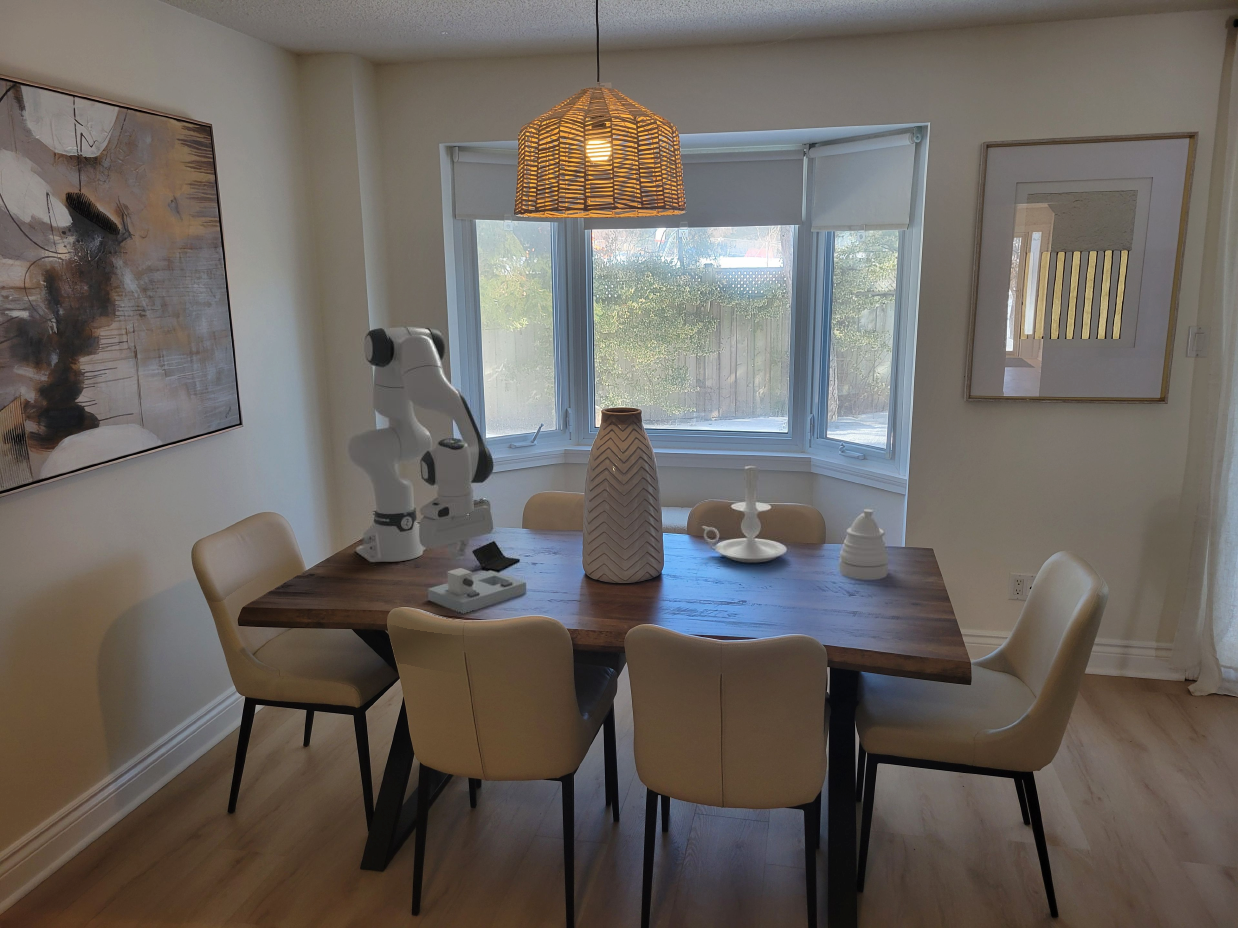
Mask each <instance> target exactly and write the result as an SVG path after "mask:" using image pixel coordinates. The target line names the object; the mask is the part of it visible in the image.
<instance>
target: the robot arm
mask: <svg viewBox="0 0 1238 928" xmlns="http://www.w3.org/2000/svg"><path fill="white" fill-rule="evenodd" d="M363 342H364V343H363V351H364V352H363V353H364V355H365V359H366V361H367V362H368V363H369V364H370V365H371V366H373V367H374V372H373V386H372V387H373V389H372V406H373V408H374V410H375V411H376V412H377V414H378V415H380V416H382V417H385V418H386V419H388V427H386V428H376V429H370V430H369V429H368V430H364V431H362V432H359V433H357V434H354V435H352V436H351V438H350V439H349V442H348V446H347V452H348V457H349V459H350V461H351V462H352V463H353V465H354V466H356V467H358V468H359V469H361V470H362V471H363V472H365V474H366V475H367V476H368V478H369V479H370V482H371V484H372V487H373V491H374V493H373V494H374V499H375V508H376V510H373V511H372V513H373V514H372V515H373V523H371V525H370V526H369V527H368V528H367V529H366V530H365V531H364V533H363V536H362V539H361V540H362V543H363V545H359V546H357V547H356V549H355V552H356V553H357V554H359V555H361V557H363V558H365V560H367V561H368V562H370V563H378V562H379V563H380V562H390V563H391V562H392V563H393V562H394V563H395V562H402V561H408V560H413V559H416V558H418V557H421V556H422V555H423V553H424V551H425V550H426V549H430V550H431V549H434V548H439V547H442V546H447V548H448V549H449V550H450V551H451V557H452V559H454V560H458V559H460V558H461V559H463V558H465V557H466V550H467V548H468V547H469V544H470V539H474V538H477V537H482V536H486V535H490V534H492V533H493V530H494V521H493V515H492V511H491V509H492V508H491V502H490V501H489V500H488V499H486V498H485V497H484V498H479V499H475V498H474V489H473V486H472V484H482V483H484V482H485V481H487V480H488V478H489V477H490V476H491V475H492V474H493V471H494V467H495V466H494V460H493V456H492V454H491V451H490V449H489V447H488V445H486V443H485V441H484V439H483V437H482V434H481V432H480V430H479V427H478V426H477V423H476V420H475V418H474V415H473V413H472V411H471V408H470V406H469V404H468V403H467V400H466V398H465V396H464V394H463V393H462V392H461V390H459V389H457V388H455V387H454V386H453V385H452V383H450V381H449V380H448V378H447V376H446V373H445V370H444V367H443V364H442V360H443V359H444V356H445V354H446V345H445V344H446V343H445V338H444V336H443V335H442V333H441V331H439V330H438V329H436V328H431V327H425V328H423V327H417V326H402V327H390V328H383V327H381V328H374V329H371V330H369V331H368V332H367V334H366V335H365V337H364V341H363ZM414 405H415V406H417V407H420V408H421V409H425V410H429V411H432V412H437V413H440V414H442V415H445V416H446V417H449V418H450V419H452V421H453V422H454V423H455V424H456V428H457V430H458V431H459V434H460V436H461V438H456V437H455V438H454V437H449V438H444V439H441V440H439V441H437V443H435V444H436V445H435V447H434V448H432V447H433V439H432V438H433V437H432V436H431V434H430V431H429V430H428V429H427V428H426V427H425V426H423V425H422V424H421V423H420V422H419V420H418V419H417V417H416V415H415V412H414ZM418 460H420V461H419V463H420V476H421V479H422V480H423V481H424V482H425V483H426V484H428V485H430V486H434V487H437V496H436V497H435V498H434V499H432V500H431V501H429V502H428V503H426V504H424V505H422V506H421V507H420V508H419V514H420V516H422V517H421V519H420V520H419V523H418V522H417V519H418V518H417V514H418V513H417V508H416V507H415V501H414V500H415V497H414V485H413V483H412V482H411V481H410V480H409V479H408V478H406V476H402V475H400V474H398V473H397V471H396V465H399V464H404V463H409V462H415V461H418ZM458 543H460V546H459V549H457V546H458Z"/></svg>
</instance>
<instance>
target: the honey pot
mask: <svg viewBox="0 0 1238 928" xmlns="http://www.w3.org/2000/svg"><path fill="white" fill-rule="evenodd" d="M862 511H863V513H861V514H860V515H858V516H857V517H856V518H855V520H854V521H853V523H852V525H851V526H850V527H848V528H847V529H846V534H847V535H846V537H845V539H844V541H843V544H842V548H841V550H840V552H839V564H838V566H839V567H838V569H839V570H838V571H839V573H840V574H841V575H842V574H843V575H842V576H844V575H845V576H844V577H848V578H851V579H857V580H864V581H869V580H872V581H873V580H880V579H884V578H886V577H887V576H888V572H889V571H888V568H889V553H888V552H887V549H886V548H887V547H886V546H885V544H886V543H885V541H884V539H883V537H884V536H885V535H886V532H885V531H884V529H881V528H880V527H879V526H878V524H877V522H876V520H875V519H874V518H873V514H874V509H870V508H869V509H868V508H867V509H866V508H865V509H863V510H862Z"/></svg>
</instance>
